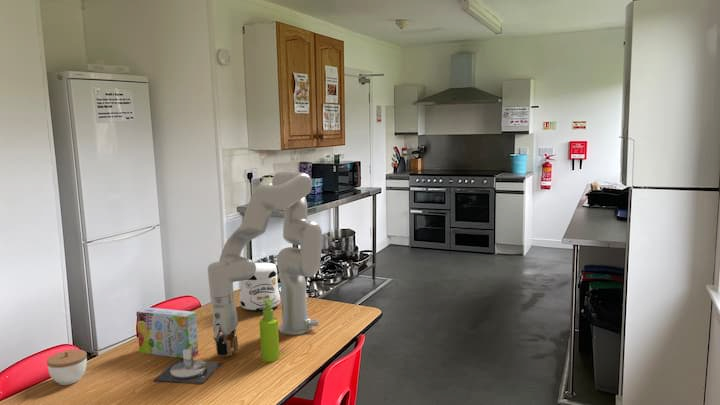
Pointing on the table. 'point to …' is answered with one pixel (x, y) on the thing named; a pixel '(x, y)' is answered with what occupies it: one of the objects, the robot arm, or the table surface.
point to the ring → (230, 343)
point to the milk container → (260, 288)
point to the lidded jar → (67, 366)
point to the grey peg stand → (188, 370)
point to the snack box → (167, 331)
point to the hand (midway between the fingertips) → (227, 349)
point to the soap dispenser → (269, 334)
